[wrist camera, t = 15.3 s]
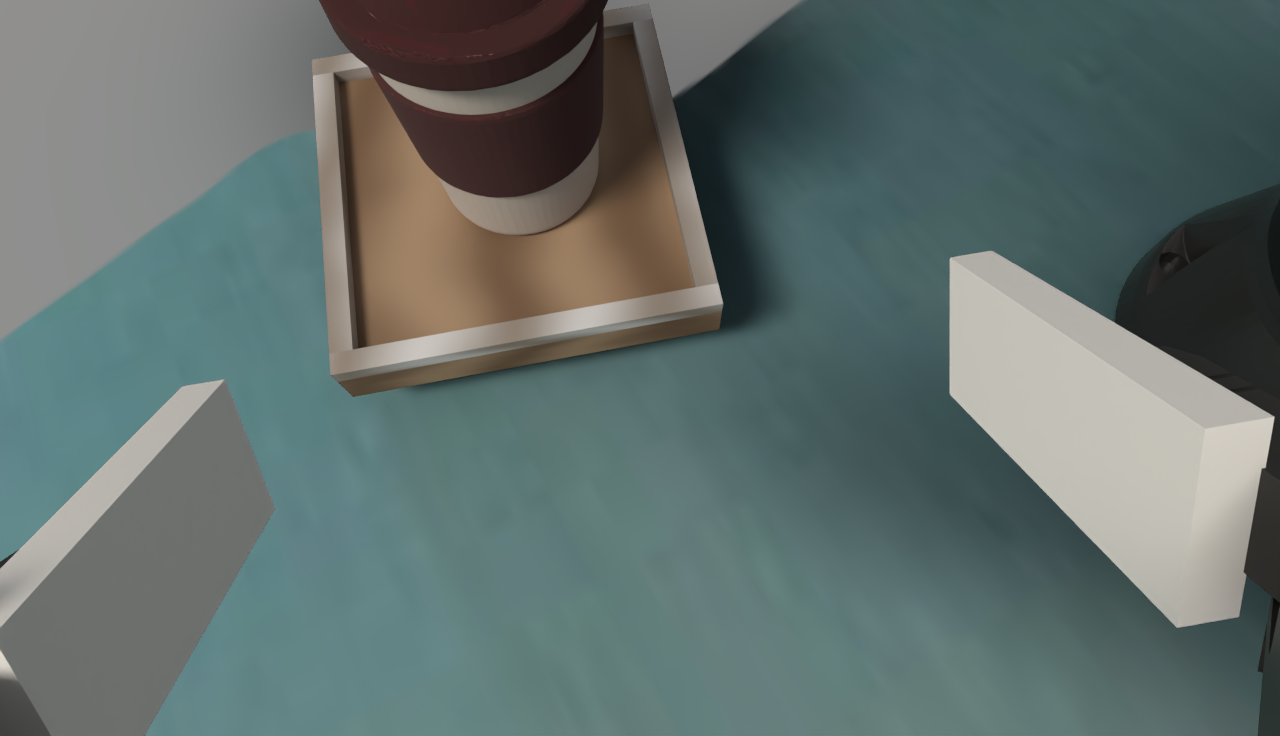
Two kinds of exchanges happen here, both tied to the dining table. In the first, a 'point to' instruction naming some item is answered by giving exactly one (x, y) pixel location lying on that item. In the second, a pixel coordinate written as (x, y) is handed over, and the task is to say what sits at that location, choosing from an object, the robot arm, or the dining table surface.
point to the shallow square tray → (506, 238)
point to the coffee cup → (491, 97)
